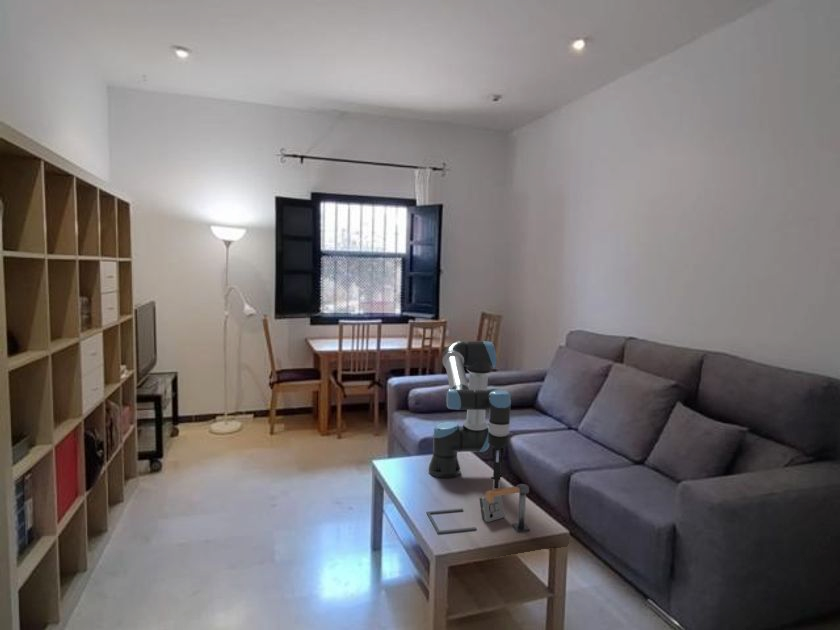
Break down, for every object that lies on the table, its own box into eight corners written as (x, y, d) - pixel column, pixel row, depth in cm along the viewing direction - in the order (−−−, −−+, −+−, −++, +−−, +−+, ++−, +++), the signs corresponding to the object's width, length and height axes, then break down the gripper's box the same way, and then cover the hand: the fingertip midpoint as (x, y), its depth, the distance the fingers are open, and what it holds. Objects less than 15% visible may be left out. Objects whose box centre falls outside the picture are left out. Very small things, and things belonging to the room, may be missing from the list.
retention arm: (524, 492, 189) (524, 483, 189) (530, 497, 185) (531, 488, 184) (484, 498, 183) (485, 489, 182) (490, 503, 179) (491, 494, 178)
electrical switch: (486, 523, 190) (485, 499, 190) (477, 518, 195) (477, 494, 195) (505, 517, 195) (504, 494, 195) (496, 513, 199) (496, 490, 199)
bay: (426, 513, 197) (426, 511, 197) (462, 509, 200) (462, 508, 200) (437, 533, 181) (437, 532, 181) (476, 530, 185) (476, 528, 185)
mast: (511, 525, 189) (513, 489, 188) (524, 524, 190) (525, 488, 189) (517, 532, 184) (519, 495, 183) (530, 531, 185) (531, 494, 184)
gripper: (489, 426, 189) (486, 486, 191) (487, 438, 177) (484, 501, 179) (509, 428, 188) (506, 488, 190) (508, 440, 175) (506, 504, 177)
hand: (496, 495), depth 184 cm, fingers closed
